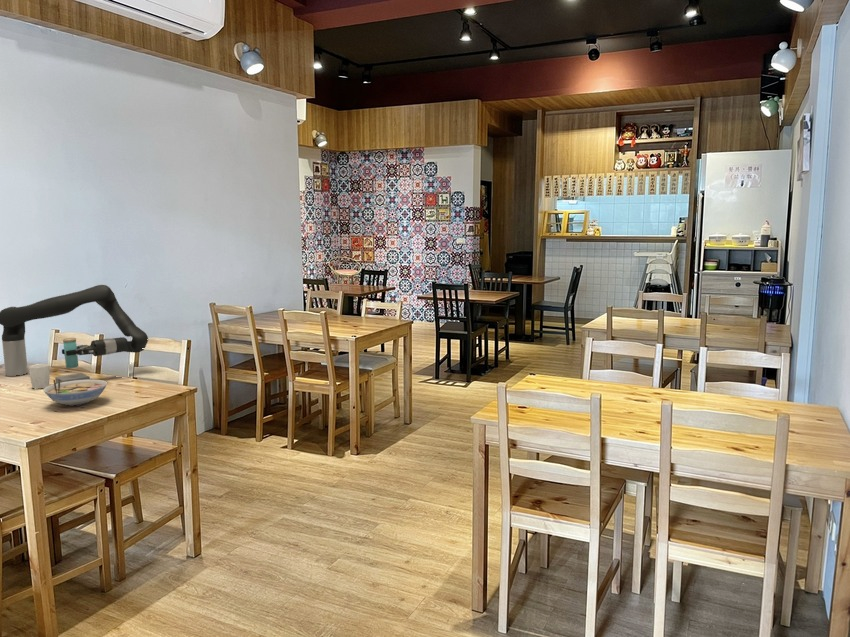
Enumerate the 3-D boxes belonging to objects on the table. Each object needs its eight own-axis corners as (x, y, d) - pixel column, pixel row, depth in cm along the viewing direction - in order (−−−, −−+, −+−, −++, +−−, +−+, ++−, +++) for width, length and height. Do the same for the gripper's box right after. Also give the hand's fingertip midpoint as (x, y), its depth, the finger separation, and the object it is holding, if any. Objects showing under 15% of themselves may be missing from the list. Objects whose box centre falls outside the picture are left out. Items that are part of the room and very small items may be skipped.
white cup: (55, 385, 283) (53, 363, 281) (42, 389, 275) (40, 367, 273) (38, 385, 283) (37, 363, 282) (26, 389, 276) (24, 367, 274)
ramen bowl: (110, 407, 247) (109, 387, 246) (43, 415, 236) (41, 394, 235) (107, 393, 269) (105, 374, 268) (45, 400, 258) (43, 381, 256)
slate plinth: (55, 384, 285) (55, 376, 284) (81, 380, 292) (81, 372, 292) (63, 388, 277) (63, 380, 277) (90, 383, 285) (89, 376, 285)
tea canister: (64, 366, 284) (61, 339, 282) (76, 364, 287) (73, 337, 286) (67, 368, 280) (65, 340, 278) (80, 366, 284) (77, 338, 282)
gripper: (97, 337, 297) (58, 342, 285) (109, 341, 288) (68, 346, 275) (98, 352, 298) (59, 358, 286) (110, 356, 289) (70, 362, 276)
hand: (64, 352), depth 281 cm, fingers closed on tea canister, 5 cm apart
